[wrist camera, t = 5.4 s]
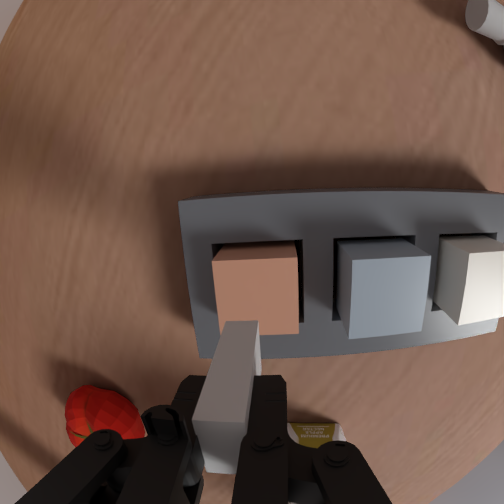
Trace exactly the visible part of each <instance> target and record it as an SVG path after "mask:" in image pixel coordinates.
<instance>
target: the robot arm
mask: <svg viewBox="0 0 504 504" xmlns="http://www.w3.org/2000/svg"><path fill="white" fill-rule="evenodd" d="M261 369H262V368H261V353H260V338H259V323H258V320H252V321H226V322H225V325H224V328H223V330H222V333H221V336H220V339H219V342H218V345H217V348H216V351H215V354H214V356H213V359H212V362H211V365H210V368H209V371H208V374H207V376H197V375H189V376H188V377H187V378H186V379H184V380H183V381H182V382H181V384H180V386H179V388H178V390H177V393H176V395H175V397H174V400H173V401H172V404H171V406H170V405H158V406H154V407H151V408H149V409H148V410H146V411H145V412H144V413H143V414H142V415H141V418H142V421H143V424H144V426H145V429H146V431H147V434H148V435H147V437H143V438H134V439H123V438H122V437H121V435H120V434H119V433H118V432H117V431H115V430H111V429H101V430H97V431H94V432H93V433H92V434H90V435H89V436H88V437H87V438H86V439H84V440H83V441H82V442H81V443H80V444H79V445H78V446H77V447H76V448H75V449H74V450H73V451H72V452H71V453H69V454H68V455H67V456H66V457H65V458H64V459H63V460H62V461H61V462H60V463H59V464H58V465H57V466H55V467H54V468H53V469H52V470H51V471H50V472H49V473H48V474H47V475H46V476H45V477H44V478H42V479H41V480H40V481H39V482H38V483H37V484H36V485H35V486H34V487H33V488H31V489H30V490H29V491H28V492H27V493H26V494H25V495H24V496H23V497H22V498H20V499H19V500H18V501H17V502H16V503H15V504H199V502H200V498H201V494H202V490H203V486H204V479H203V476H202V471H203V468H204V465H205V468H206V471H207V472H210V473H224V474H236V477H235V484H234V490H233V496H232V503H231V504H288V502H291V503H296V504H392V502H391V501H390V499H389V498H388V496H387V494H386V493H385V491H384V489H383V488H382V486H381V485H380V483H379V481H378V480H377V478H376V477H375V475H374V473H373V472H372V470H371V468H370V467H369V465H368V463H367V462H366V460H365V459H364V457H363V455H362V454H361V452H360V450H359V449H358V448H357V447H356V446H355V445H353V444H351V443H349V442H347V441H339V440H336V441H329V442H327V443H324V444H322V445H320V446H319V447H318V448H312V447H307V446H303V445H300V444H298V443H296V442H295V441H294V440H293V439H291V437H290V436H289V434H288V430H287V391H286V382H285V380H284V379H283V378H282V376H281V375H261Z"/></svg>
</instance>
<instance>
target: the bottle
mask: <svg viewBox="0 0 504 504" xmlns="http://www.w3.org/2000/svg"><path fill="white" fill-rule="evenodd" d="M465 19H466V24H467V26H468V28H469V29H471V30H472V31H474V32H477V33H479V34H482V35H484V36H486V37H488V38H491V39H493V40H494V42H495V43H497V44H498V45H503V48H504V6H502V5H501V4H500V3H498V2H497V1H496V0H468V3H467V6H466V12H465Z"/></svg>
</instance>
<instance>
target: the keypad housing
mask: <svg viewBox="0 0 504 504" xmlns="http://www.w3.org/2000/svg"><path fill="white" fill-rule="evenodd" d="M178 207H179V216H180V226H181V235H182V243H183V252H184V260H185V267H186V275H187V282H188V289H189V296H190V303H191V309H192V316H193V322H194V328H195V334H196V340H197V346H198V351H199V357H200V358H211V359H213V356H214V354H215V351H216V348H217V345H218V342H219V339H220V336H221V335H220V328H219V320H218V312H217V304H216V295H215V287H214V278H213V269H212V260H213V259H214V257H215V256H216V255H217V253H218V252H219V251H220V249H221V248H222V247H223V243H237V242H258V241H279V240H299V242H300V278H301V300H298V303H299V334H281V335H259V338H260V353H261V359H273V358H300V357H319V356H333V355H346V354H357V353H367V352H376V351H385V350H393V349H400V348H408V347H414V346H421V345H427V344H434V343H439V342H445V341H451V340H456V339H461V338H466V337H471V336H476V335H480V334H485V333H489V332H494V331H496V327H497V323H498V319H499V318H494V319H489V320H485V321H479V322H474V323H469V324H463V325H457V324H456V323H455V322H454V321H453V320H452V319H451V318H450V317H449V316H448V315H447V314H446V313H445V312H444V311H443V310H442V309H441V308H440V307H439V306H438V305H437V304H436V303H435V302H433V294H434V287H435V278H436V269H437V259H438V246H439V234H459V233H471V236H479V235H484V236H487V237H489V238H492V239H494V240H497V241H499V242H502V243H504V193H499V192H493V191H485V190H466V189H441V188H324V189H296V190H275V191H258V192H242V193H228V194H215V195H203V196H193V197H190V198H187V199H184V200H180V201H178ZM373 236H396V238H403V239H405V240H406V241H408V242H410V243H411V244H413V245H415V246H416V247H418V248H419V249H421V250H423V251H424V252H426V253H428V254H429V255H431V263H430V274H429V283H428V291H427V299H426V306H425V312H424V319H423V325H422V330H421V331H419V332H411V333H404V334H395V335H387V336H378V337H368V338H357V339H348V337H347V334H346V331H345V329H344V326H343V323H342V321H341V318H340V315H339V313H338V310H337V308H336V298H335V299H333V238H348V237H373Z"/></svg>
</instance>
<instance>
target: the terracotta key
mask: <svg viewBox="0 0 504 504" xmlns="http://www.w3.org/2000/svg"><path fill="white" fill-rule="evenodd" d="M212 269H213V278H214V287H215V295H216V304H217V312H218V320H219V328H220V335H221V333H222V330H223V328H224V325H225V322H226V321H252V320H258V323H259V335H281V334H299V303H298V259H297V253H296V248H295V243H294V240H279V241H258V242H237V243H225V244H224V245H223V247H222V248H221V249H220V251H219V252H218V253H217V255H216V256H215V257H214V259H213V260H212Z"/></svg>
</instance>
